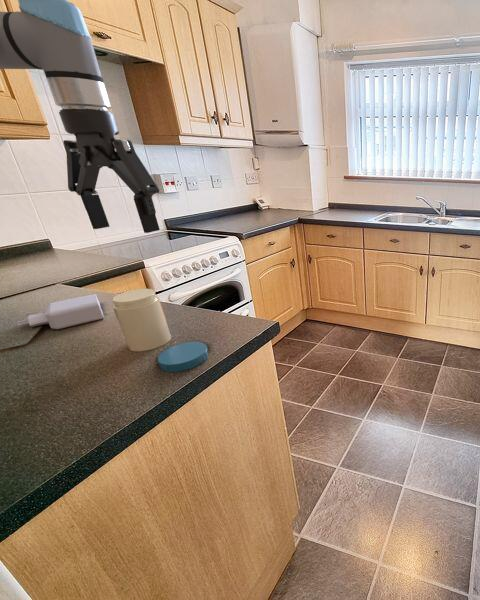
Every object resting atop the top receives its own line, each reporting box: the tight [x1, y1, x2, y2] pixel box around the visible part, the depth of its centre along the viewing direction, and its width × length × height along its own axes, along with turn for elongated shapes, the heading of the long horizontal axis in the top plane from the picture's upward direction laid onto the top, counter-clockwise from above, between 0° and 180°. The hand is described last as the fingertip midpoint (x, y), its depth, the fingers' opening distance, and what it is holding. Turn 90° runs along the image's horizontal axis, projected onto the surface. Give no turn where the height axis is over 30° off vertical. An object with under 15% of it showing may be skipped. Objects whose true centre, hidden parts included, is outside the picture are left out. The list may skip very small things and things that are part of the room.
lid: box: [157, 341, 210, 373], centre depth 69 cm, size 9×9×2 cm
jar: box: [112, 288, 172, 353], centre depth 73 cm, size 8×8×12 cm
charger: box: [16, 293, 105, 330], centre depth 83 cm, size 5×9×15 cm
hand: (126, 229), depth 68 cm, fingers open, 13 cm apart
